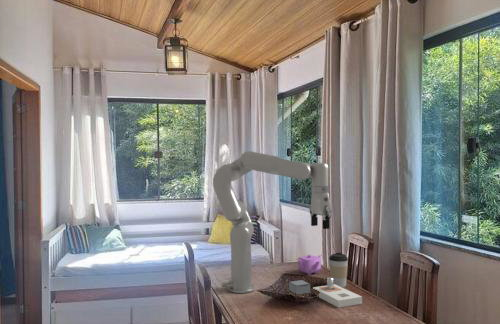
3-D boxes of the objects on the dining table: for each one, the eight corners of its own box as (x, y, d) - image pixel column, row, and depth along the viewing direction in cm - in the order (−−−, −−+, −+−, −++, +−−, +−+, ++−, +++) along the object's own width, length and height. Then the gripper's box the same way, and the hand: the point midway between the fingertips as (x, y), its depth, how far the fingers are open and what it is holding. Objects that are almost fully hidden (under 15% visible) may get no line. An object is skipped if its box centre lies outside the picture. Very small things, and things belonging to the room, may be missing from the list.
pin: (329, 296, 196) (329, 278, 196) (325, 295, 199) (325, 277, 199) (334, 295, 197) (334, 278, 197) (331, 294, 200) (330, 276, 200)
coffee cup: (348, 288, 209) (348, 256, 209) (329, 287, 211) (328, 255, 211) (348, 282, 218) (347, 252, 218) (329, 281, 220) (329, 251, 219)
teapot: (305, 278, 225) (305, 259, 225) (289, 273, 236) (289, 255, 236) (331, 273, 235) (331, 255, 235) (314, 268, 246) (314, 250, 246)
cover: (296, 299, 193) (296, 285, 193) (288, 294, 199) (288, 281, 199) (310, 297, 196) (310, 283, 196) (302, 292, 202) (302, 279, 202)
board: (338, 307, 182) (338, 300, 182) (312, 294, 200) (312, 287, 200) (362, 303, 187) (362, 296, 187) (334, 290, 205) (334, 283, 205)
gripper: (337, 190, 195) (337, 229, 195) (316, 188, 211) (316, 224, 211) (323, 191, 192) (323, 230, 192) (303, 189, 208) (303, 225, 208)
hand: (320, 227), depth 201 cm, fingers open, 9 cm apart
